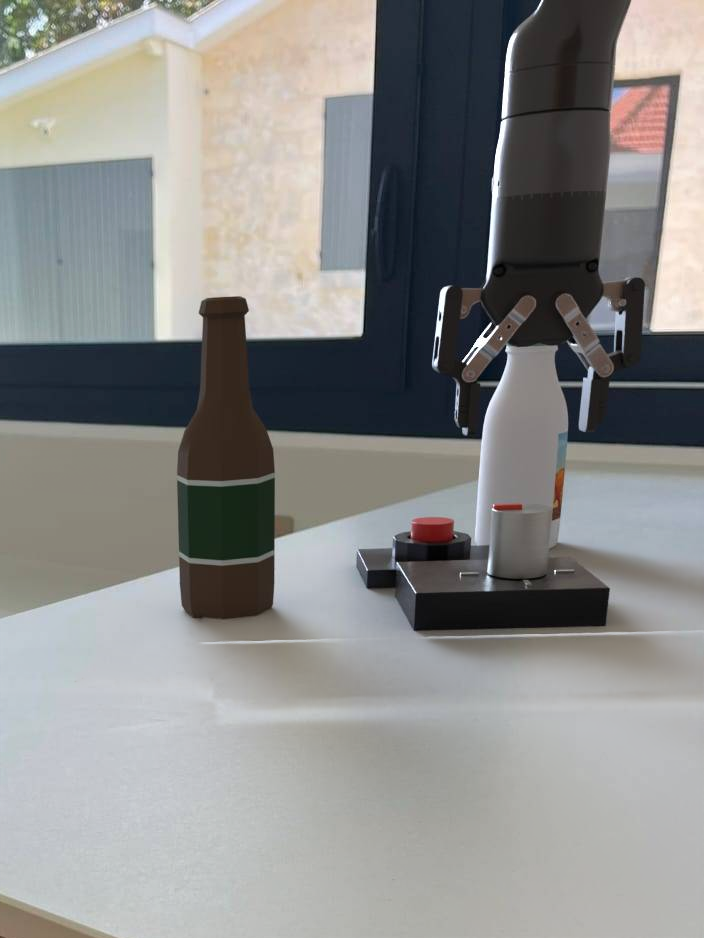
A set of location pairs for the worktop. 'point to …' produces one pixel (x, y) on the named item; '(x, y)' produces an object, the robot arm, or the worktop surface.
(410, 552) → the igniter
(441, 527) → the button
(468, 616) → the panel
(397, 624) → the worktop surface
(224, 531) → the beer bottle
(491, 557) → the burner knob
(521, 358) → the milk bottle
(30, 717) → the worktop surface
